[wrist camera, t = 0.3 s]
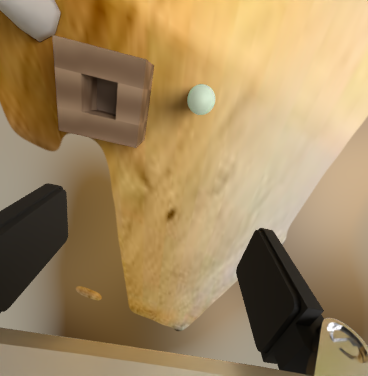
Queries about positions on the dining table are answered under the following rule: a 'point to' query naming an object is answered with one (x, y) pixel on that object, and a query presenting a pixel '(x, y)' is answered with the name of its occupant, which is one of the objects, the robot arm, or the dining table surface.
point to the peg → (201, 99)
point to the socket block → (101, 92)
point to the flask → (33, 16)
